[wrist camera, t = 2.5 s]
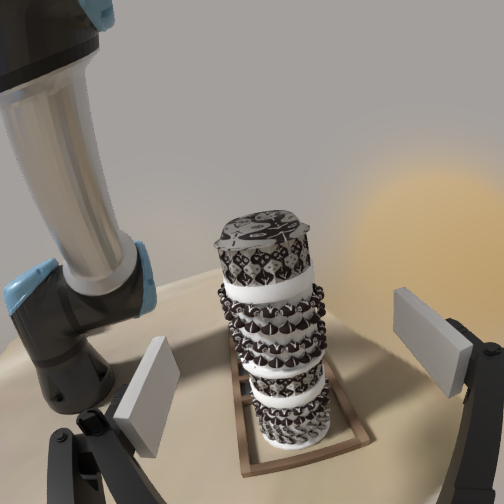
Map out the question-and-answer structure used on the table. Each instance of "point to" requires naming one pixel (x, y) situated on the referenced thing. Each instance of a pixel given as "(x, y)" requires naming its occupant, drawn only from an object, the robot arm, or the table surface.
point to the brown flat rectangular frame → (247, 470)
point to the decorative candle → (277, 324)
